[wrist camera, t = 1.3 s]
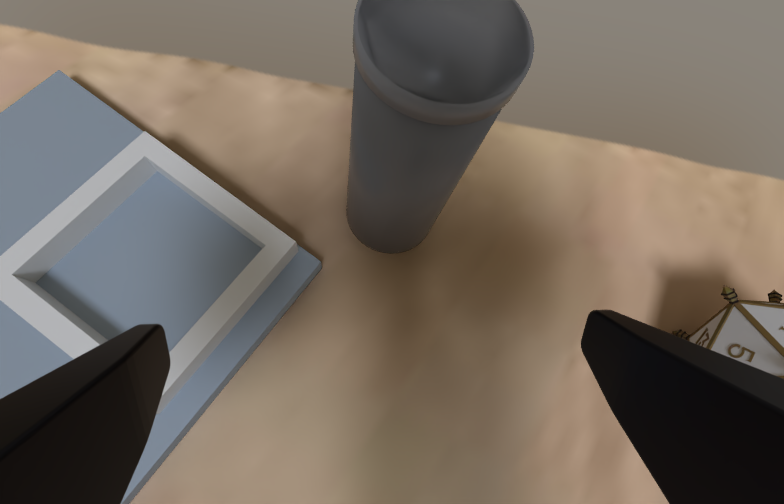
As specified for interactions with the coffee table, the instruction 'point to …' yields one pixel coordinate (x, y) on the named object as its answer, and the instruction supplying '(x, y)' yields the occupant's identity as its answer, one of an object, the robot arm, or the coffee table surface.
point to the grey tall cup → (425, 106)
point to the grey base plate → (129, 256)
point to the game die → (746, 332)
